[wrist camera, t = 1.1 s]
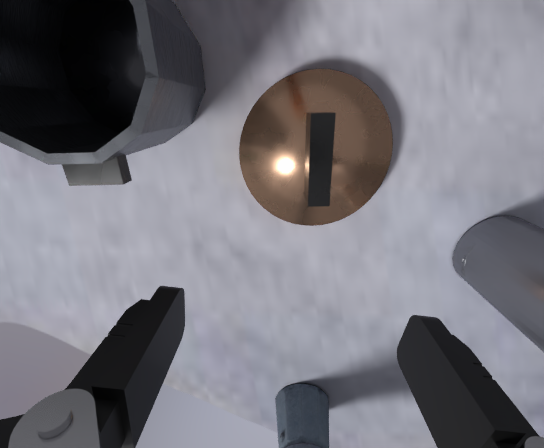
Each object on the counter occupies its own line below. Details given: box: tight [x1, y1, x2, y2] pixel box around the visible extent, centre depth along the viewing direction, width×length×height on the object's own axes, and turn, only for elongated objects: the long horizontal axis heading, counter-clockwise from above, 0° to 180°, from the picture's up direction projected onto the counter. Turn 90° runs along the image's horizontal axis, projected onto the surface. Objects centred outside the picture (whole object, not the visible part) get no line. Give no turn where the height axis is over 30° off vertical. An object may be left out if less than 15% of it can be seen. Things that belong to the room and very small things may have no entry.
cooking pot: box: [0, 0, 205, 186], centre depth 20 cm, size 13×17×11 cm
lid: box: [239, 69, 393, 226], centre depth 25 cm, size 15×15×5 cm
